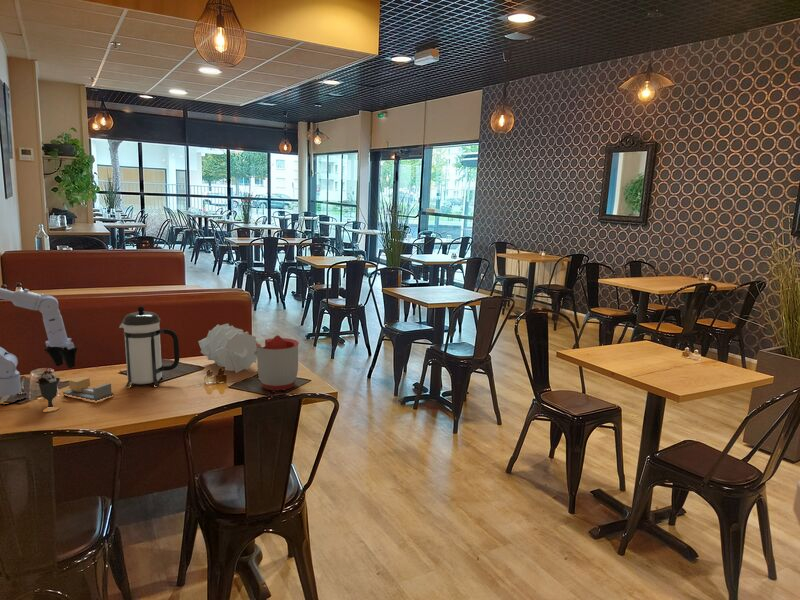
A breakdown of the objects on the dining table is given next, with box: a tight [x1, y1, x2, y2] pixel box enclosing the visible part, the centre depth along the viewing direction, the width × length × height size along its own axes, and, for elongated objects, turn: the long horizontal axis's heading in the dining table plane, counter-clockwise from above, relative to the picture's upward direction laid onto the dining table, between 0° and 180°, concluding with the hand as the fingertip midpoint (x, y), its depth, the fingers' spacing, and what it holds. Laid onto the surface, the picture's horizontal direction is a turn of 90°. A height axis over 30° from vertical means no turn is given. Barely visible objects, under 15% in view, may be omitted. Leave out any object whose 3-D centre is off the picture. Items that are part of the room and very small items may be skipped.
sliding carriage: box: [68, 376, 91, 392], centre depth 198 cm, size 4×5×4 cm
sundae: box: [35, 364, 61, 407], centre depth 184 cm, size 7×7×15 cm
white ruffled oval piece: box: [198, 323, 258, 374], centre depth 234 cm, size 18×18×25 cm
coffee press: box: [119, 305, 180, 388], centre depth 210 cm, size 17×16×30 cm
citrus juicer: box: [254, 334, 300, 391], centre depth 211 cm, size 16×17×20 cm
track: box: [62, 382, 115, 401], centre depth 197 cm, size 16×7×5 cm, turn 68°
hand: (65, 366), depth 199 cm, fingers open, 7 cm apart
